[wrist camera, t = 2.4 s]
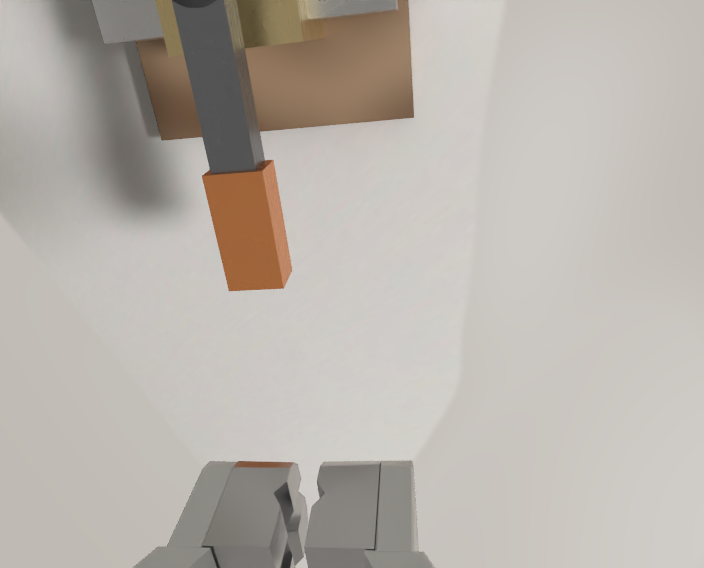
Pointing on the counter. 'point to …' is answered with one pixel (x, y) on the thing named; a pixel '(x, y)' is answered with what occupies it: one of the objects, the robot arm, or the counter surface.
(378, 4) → the valve body
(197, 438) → the counter surface
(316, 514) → the robot arm
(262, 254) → the valve lever
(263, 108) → the base board
